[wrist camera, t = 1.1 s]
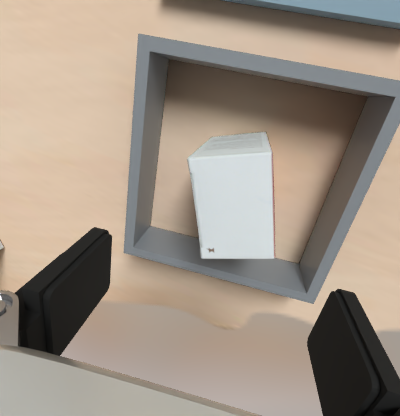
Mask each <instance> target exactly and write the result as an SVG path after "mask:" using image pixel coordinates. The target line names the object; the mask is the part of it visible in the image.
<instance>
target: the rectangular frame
mask: <svg viewBox="0 0 400 416" xmlns="http://www.w3.org/2000/svg"><path fill="white" fill-rule="evenodd" d="M169 59H171V60H176V61H182V62H187V63H192V64H197V65H203V66H208V67H213V68H219V69H224V70H229V71H235V72H240V73H245V74H251V75H256V76H261V77H267V78H272V79H277V80H283V81H288V82H293V83H298V84H304V85H309V86H314V87H320V88H325V89H330V90H336V91H341V92H346V93H352V94H357V95H362V96H368V98H367V100H366V103H365V105H364V107H363V110H362V112H361V115H360V117H359V120H358V122H357V124H356V127H355V129H354V132H353V134H352V137H351V139H350V141H349V144H348V146H347V149H346V151H345V154H344V156H343V159H342V161H341V163H340V166H339V168H338V171H337V173H336V176H335V178H334V180H333V183H332V185H331V188H330V190H329V193H328V195H327V197H326V200H325V202H324V205H323V207H322V210H321V212H320V214H319V217H318V219H317V222H316V224H315V227H314V229H313V232H312V234H311V236H310V239H309V241H308V244H307V246H306V249H305V251H304V253H303V256H302V258H301V261H300V263H299V264H297V263H293V262H289V261H285V260H281V259H277V258H274V259H202V258H201V254H200V241H199V238H195V237H191V236H187V235H183V234H180V233H176V232H172V231H168V230H164V229H160V228H156V227H152V226H150V224H151V215H152V206H153V197H154V188H155V179H156V171H157V162H158V153H159V144H160V135H161V126H162V117H163V108H164V99H165V90H166V81H167V72H168V63H169ZM399 124H400V81H398V80H393V79H387V78H382V77H376V76H371V75H365V74H360V73H354V72H348V71H343V70H337V69H332V68H326V67H321V66H315V65H310V64H304V63H299V62H293V61H287V60H282V59H276V58H271V57H265V56H260V55H254V54H249V53H243V52H238V51H232V50H226V49H221V48H215V47H210V46H204V45H199V44H193V43H188V42H182V41H177V40H171V39H165V38H160V37H154V36H149V35H143V34H138V45H137V61H136V76H135V91H134V106H133V121H132V136H131V151H130V166H129V181H128V196H127V211H126V226H125V241H124V253H126V254H130V255H133V256H137V257H141V258H145V259H148V260H152V261H156V262H159V263H163V264H167V265H171V266H174V267H178V268H182V269H185V270H189V271H193V272H197V273H200V274H204V275H208V276H211V277H215V278H219V279H223V280H226V281H230V282H234V283H237V284H241V285H245V286H249V287H252V288H256V289H260V290H263V291H267V292H271V293H275V294H278V295H282V296H286V297H289V298H293V299H297V300H301V301H304V302H308V303H312V304H314V302H315V300H316V298H317V296H318V294H319V291H320V289H321V287H322V285H323V283H324V281H325V279H326V277H327V275H328V273H329V270H330V268H331V266H332V264H333V262H334V260H335V258H336V256H337V254H338V252H339V249H340V247H341V245H342V243H343V241H344V239H345V237H346V235H347V233H348V231H349V228H350V226H351V224H352V222H353V220H354V218H355V216H356V214H357V212H358V210H359V208H360V205H361V203H362V201H363V199H364V197H365V195H366V193H367V191H368V189H369V187H370V184H371V182H372V180H373V178H374V176H375V174H376V172H377V170H378V168H379V166H380V163H381V161H382V159H383V157H384V155H385V153H386V151H387V149H388V147H389V145H390V142H391V140H392V138H393V136H394V134H395V132H396V130H397V128H398V126H399Z"/></svg>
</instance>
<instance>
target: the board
mask: <svg viewBox="0 0 400 416" xmlns="http://www.w3.org/2000/svg"><path fill="white" fill-rule="evenodd" d="M222 1H228V2H234V3H241V4H247V5H253V6H259V7H265V8H271V9H278V10H284V11H290V12H296V13H302V14H309V15H315V16H321V17H327V18H333V19H340V20H346V21H352V22H358V23H364V24H370V25H377V26H383V27H389V28H395V29H400V0H222Z"/></svg>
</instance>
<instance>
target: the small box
mask: <svg viewBox="0 0 400 416" xmlns="http://www.w3.org/2000/svg"><path fill="white" fill-rule="evenodd" d="M187 161H188V166H189V171H190V177H191V183H192V189H193V196H194V203H195V210H196V218H197V225H198V233H199V241H200V254H201V258H202V259H274V258H275V213H274V176H273V152H272V149H271V146H270V143H269V140H268V136H267V133H266V132H255V133H245V134H235V135H225V136H216V137H211V138H210V139H209V140H208V141H207V142H205V143H204V144H203V145H202V146H201V147H200V148H198V149H197V150H196V151H195V152H194V153H193V154H192V155H190V156H189V157H188V159H187Z"/></svg>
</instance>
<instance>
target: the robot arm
mask: <svg viewBox="0 0 400 416" xmlns="http://www.w3.org/2000/svg"><path fill="white" fill-rule="evenodd" d="M111 247H112V236H111V235H110V234H109V232H108V231H107V230H104V229H100V228H96V227H94V228H92V229H91V230H90V231H89V232H88V233H86V234H85V235H84V236H83V237H82V238H81V239H79V240H78V241H77V242H76V243H75V244H73V245H72V246H71V247H70V248H69V249H68V250H66V251H65V252H64V253H62V254H61V255H59V256H58V257H57V258H56V259H55V260H53V261H52V262H51V263H50V264H49V265H48V266H46V267H45V268H44V269H43V270H42V271H40V272H39V273H38V274H37V275H36V276H34V277H33V278H32V279H31V280H30V281H29V282H27V283H26V284H25V285H24V286H23V287H21V288H20V289H19V290H18V291H17V292H15V293H13V292H10V291H5V290H0V416H260V415H257V414H254V413H250V412H247V411H244V410H241V409H238V408H234V407H231V406H227V405H224V404H221V403H218V402H215V401H211V400H208V399H205V398H201V397H198V396H194V395H191V394H188V393H184V392H181V391H178V390H175V389H171V388H168V387H164V386H161V385H158V384H155V383H151V382H148V381H145V380H141V379H138V378H134V377H131V376H128V375H124V374H121V373H117V372H114V371H111V370H107V369H104V368H100V367H97V366H94V365H90V364H87V363H83V362H79V361H76V360H72V359H69V358H65V357H61V356H60V355H61V354H62V352H63V351H64V350H65V348H66V347H67V345H68V344H69V343H70V341H71V340H72V339H73V337H74V336H75V334H76V333H77V332H78V330H79V329H80V328H81V326H82V325H83V324H84V322H85V321H86V319H87V318H88V316H89V315H90V314H91V313H92V311H93V309H94V308H95V307H96V306H97V304H98V303H99V302H100V300H101V299H102V297H103V296H104V295H105V293H106V292H107V290H108V288H109V285H110V270H111ZM307 346H308V351H309V355H310V360H311V364H312V368H313V373H314V377H315V382H316V385H317V391H318V395H319V399H320V403H321V408H322V413H323V416H400V379H399V377H398V375H397V373H396V371H395V369H394V367H393V365H392V363H391V361H390V360H389V358H388V356H387V354H386V352H385V350H384V348H383V347H382V345H381V342H380V340H379V339H378V337H377V335H376V333H375V331H374V329H373V327H372V325H371V323H370V321H369V319H368V318H367V316H366V314H365V312H364V310H363V308H362V306H361V304H360V302H359V300H358V298H357V297H356V295H355V293H353V292H349V291H345V290H341V289H337V290H336V291H335V292H334V291H332V292H331V293H330V295H329V297H328V299H327V301H326V303H325V305H324V307H323V309H322V311H321V313H320V315H319V317H318V319H317V321H316V323H315V325H314V327H313V329H312V331H311V333H310V335H309V337H308V341H307Z"/></svg>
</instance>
